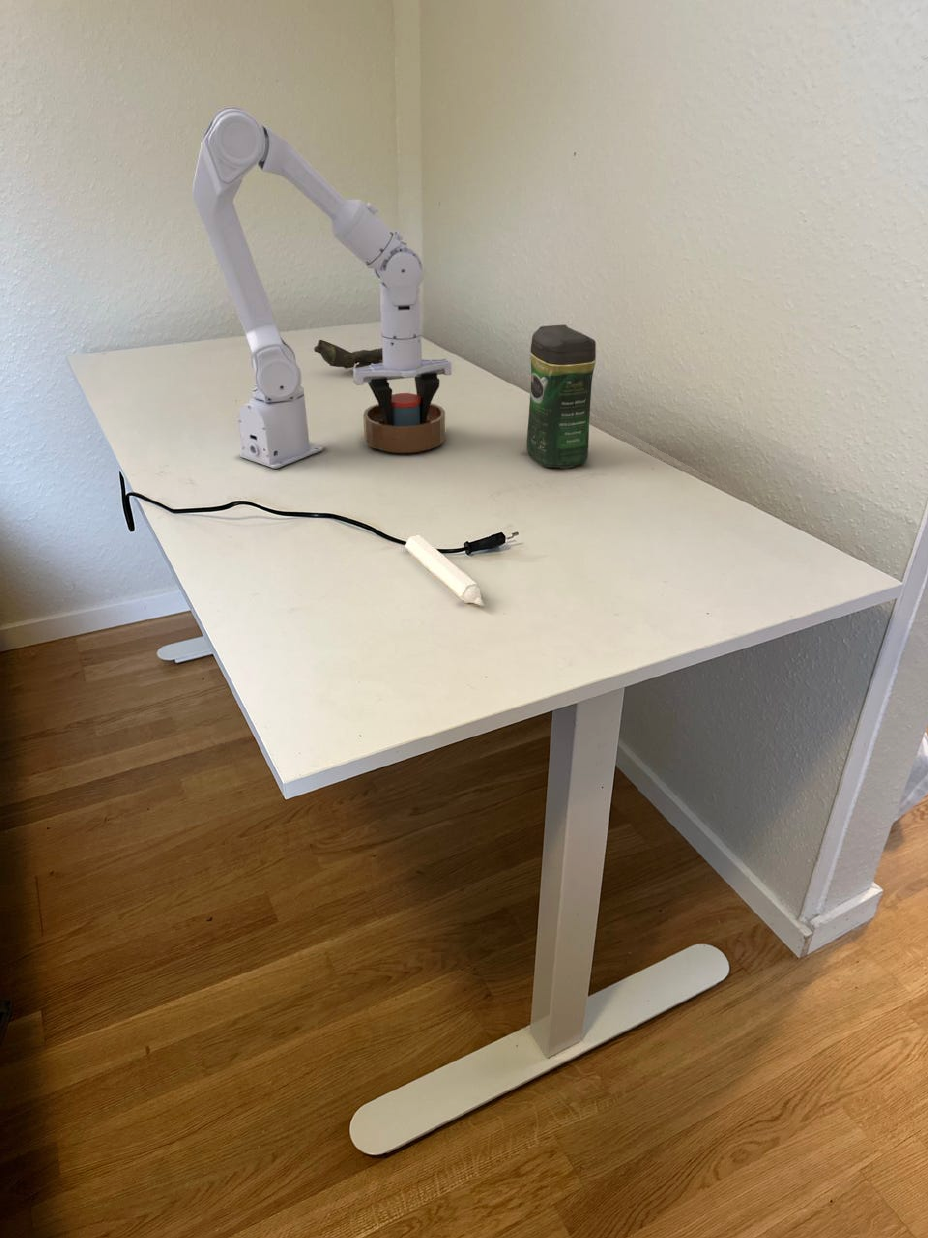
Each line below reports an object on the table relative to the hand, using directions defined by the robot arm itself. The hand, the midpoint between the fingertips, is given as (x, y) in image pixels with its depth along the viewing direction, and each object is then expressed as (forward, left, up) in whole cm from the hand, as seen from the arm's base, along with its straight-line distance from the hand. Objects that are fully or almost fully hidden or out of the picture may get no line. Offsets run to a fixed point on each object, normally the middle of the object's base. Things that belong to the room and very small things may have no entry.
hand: (404, 425), depth 130 cm
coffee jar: (+8, -22, -3) cm, 24 cm away
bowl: (0, 0, -2) cm, 2 cm away
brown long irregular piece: (+23, +30, -3) cm, 38 cm away
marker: (-30, -32, -3) cm, 44 cm away
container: (0, 0, -1) cm, 1 cm away
